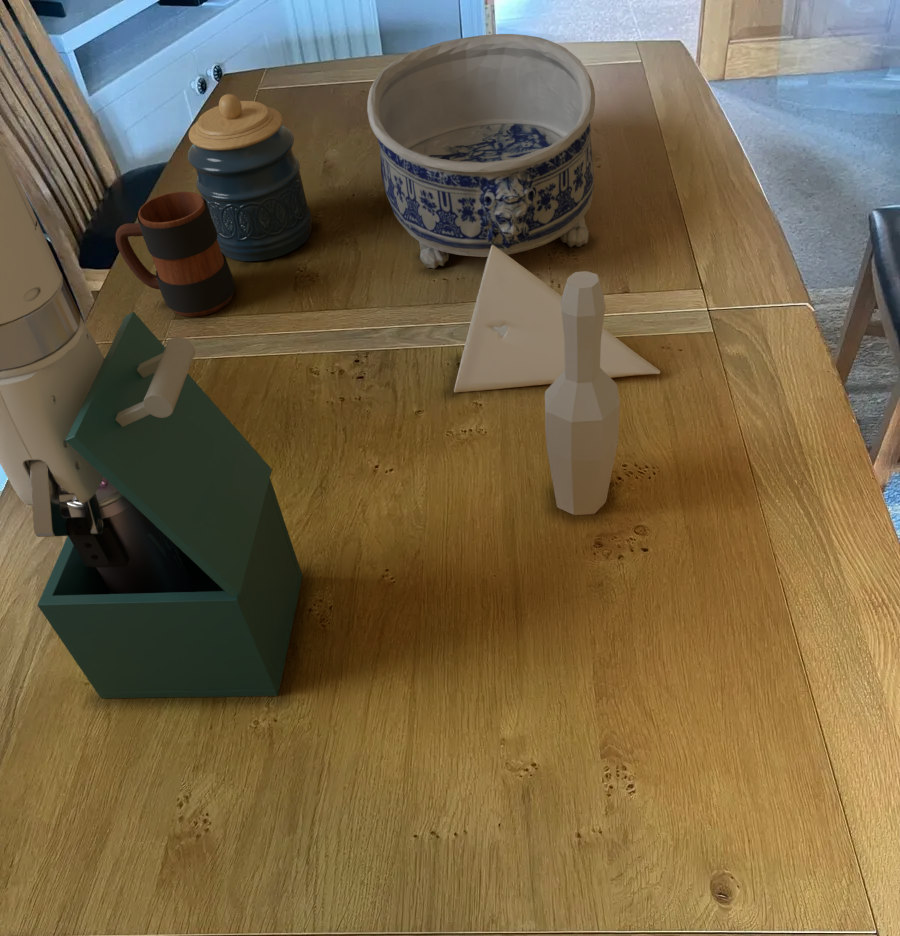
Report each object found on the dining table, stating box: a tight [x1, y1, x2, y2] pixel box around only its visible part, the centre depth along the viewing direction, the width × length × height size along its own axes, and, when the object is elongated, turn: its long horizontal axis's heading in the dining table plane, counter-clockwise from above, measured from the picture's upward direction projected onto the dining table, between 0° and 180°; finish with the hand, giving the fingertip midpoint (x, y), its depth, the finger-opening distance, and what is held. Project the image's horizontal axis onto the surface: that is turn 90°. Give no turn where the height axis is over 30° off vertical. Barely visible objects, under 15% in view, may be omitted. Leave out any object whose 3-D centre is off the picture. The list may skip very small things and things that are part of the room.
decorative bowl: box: [366, 33, 596, 269], centre depth 115 cm, size 42×27×15 cm, turn 9°
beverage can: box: [61, 477, 197, 594], centre depth 72 cm, size 6×6×15 cm
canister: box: [187, 93, 313, 262], centre depth 116 cm, size 13×13×18 cm
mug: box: [115, 191, 236, 318], centre depth 110 cm, size 9×12×12 cm
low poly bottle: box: [544, 271, 621, 516], centre depth 77 cm, size 6×6×22 cm
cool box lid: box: [65, 311, 273, 597], centre depth 63 cm, size 16×13×5 cm
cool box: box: [37, 478, 303, 699], centre depth 75 cm, size 15×13×12 cm
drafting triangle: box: [453, 245, 661, 393], centre depth 96 cm, size 15×6×20 cm
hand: (121, 528), depth 70 cm, fingers closed on beverage can, 6 cm apart
